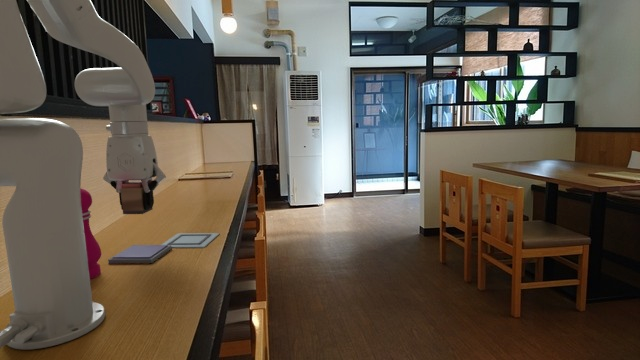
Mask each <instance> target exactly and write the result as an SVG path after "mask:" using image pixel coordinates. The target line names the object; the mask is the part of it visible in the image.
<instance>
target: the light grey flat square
mask: <svg viewBox="0 0 640 360" xmlns="http://www.w3.org/2000/svg"><path fill="white" fill-rule="evenodd" d="M219 235H220V233H219V232H209V233H208V232H204V233H203V232H199V233H198V232H197V233H195V232H193V233H191V232H190V233H187V232H183V233H179V232H178V233H177V234H175V235H173V236H172V237H170V238H169V239H167V240H166V241H164V242H163V243H161V244H160V245H171V249H184V248H186V249H188V248H189V249H197V248H198V249H201V248H202V249H203V248H206V247H207V246H208V245H209V244H211V242H212V241H213V240H214V239H216V238H217V237H218V236H219Z"/></svg>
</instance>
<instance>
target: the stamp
mask: <svg viewBox="0 0 640 360" xmlns="http://www.w3.org/2000/svg"><path fill="white" fill-rule="evenodd" d="M143 193H144V188H143V185H142V182H141V180H130V181H129V182H127V183H124V184H122V188H121V199H122V208H123V210H122V214H123V215H144V214H146V213H148V212H150V211H153V209H154V208H153V207H152V208H150V209H147V210H145V209H144V205H143Z"/></svg>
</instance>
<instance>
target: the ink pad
mask: <svg viewBox="0 0 640 360" xmlns="http://www.w3.org/2000/svg"><path fill="white" fill-rule="evenodd" d="M169 250H170V251H171V250H172V248H171V245H161V244H132V245H131V246H128V247H127V248H125V249H124V250H122V251H120V252H119V253H117V254H115V255H114V256H112V257H110V258H109V259H107V262H108V264H109V265H110V264H111V265H115V264H116V265H118V264H119V263H120V264H121V263H152V264H154V261H155V260H156V261H157V260H158V258H159V259H160V258H162V257H163V256H164V255H166V254H167V253H168V252H170V251H169ZM166 252H167V253H166ZM165 253H166V254H165ZM162 255H163V256H162ZM156 261H155V262H156ZM120 264H119V265H120Z"/></svg>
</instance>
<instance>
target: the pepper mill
mask: <svg viewBox="0 0 640 360" xmlns="http://www.w3.org/2000/svg"><path fill="white" fill-rule="evenodd" d="M80 191H81V207H82V217H83V225H84V233H85V242H86V251H87V259H88V268H89V277H90V280H92V279H94V278H96V277H98V276H99V275H101V271H102V270H101V264H100V263H98V262H99V261H100V259H101V258H102V249H101V247H100V244H99V242H98V241H97V240H96V238H95V236H94V234H93V233H92V230H91V228H90V218H91V217H92V215H91V210H89V209H90V208H91V206H92V204H93V197H92V195H91V193H90V192H89V191H88V190H86V189H84V188H81V187H80Z"/></svg>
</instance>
